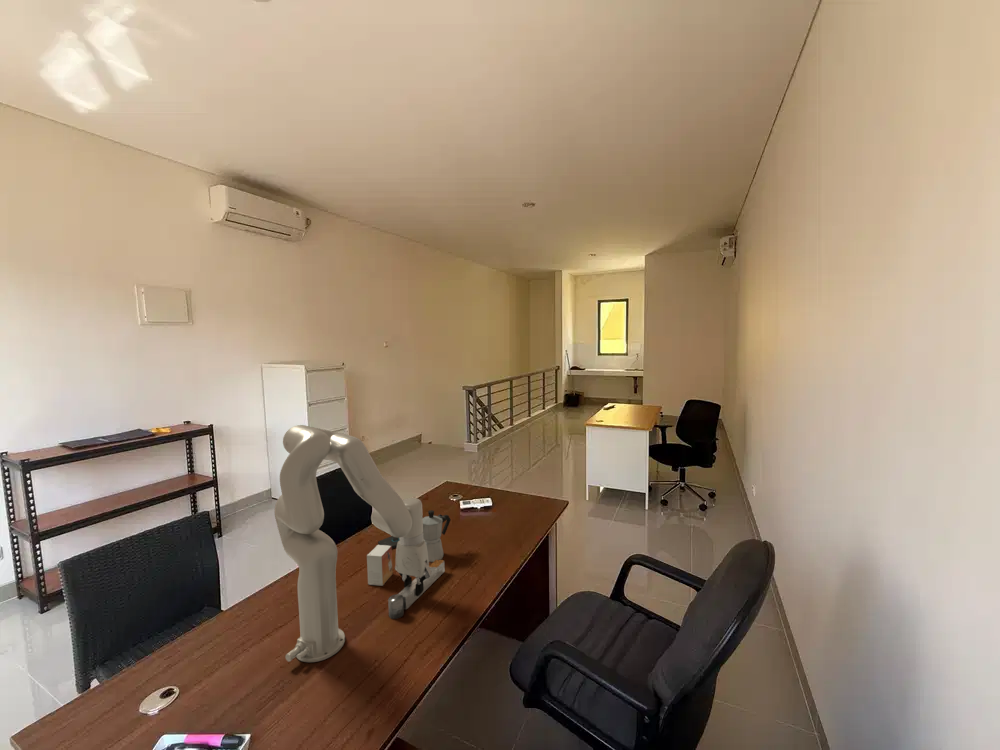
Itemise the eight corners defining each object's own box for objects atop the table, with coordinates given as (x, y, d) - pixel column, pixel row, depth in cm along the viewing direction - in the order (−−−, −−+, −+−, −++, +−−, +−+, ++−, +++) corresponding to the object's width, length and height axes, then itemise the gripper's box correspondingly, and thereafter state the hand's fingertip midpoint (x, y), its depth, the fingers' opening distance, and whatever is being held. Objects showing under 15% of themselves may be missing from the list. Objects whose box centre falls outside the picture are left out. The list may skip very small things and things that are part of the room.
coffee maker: (424, 567, 158) (422, 519, 156) (412, 558, 165) (410, 512, 163) (457, 553, 168) (456, 508, 166) (444, 545, 174) (443, 502, 173)
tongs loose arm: (406, 609, 133) (405, 597, 132) (402, 608, 133) (401, 595, 133) (444, 571, 154) (444, 560, 154) (440, 570, 155) (440, 559, 154)
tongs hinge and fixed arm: (397, 620, 128) (397, 604, 128) (385, 617, 130) (385, 601, 129) (446, 572, 154) (445, 559, 154) (435, 570, 156) (435, 556, 155)
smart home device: (377, 541, 176) (417, 525, 191) (377, 545, 177) (417, 529, 191) (388, 547, 171) (429, 530, 185) (388, 551, 171) (429, 534, 185)
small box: (382, 586, 146) (381, 556, 145) (367, 584, 147) (366, 555, 146) (393, 573, 154) (392, 545, 153) (378, 572, 155) (377, 544, 154)
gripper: (382, 539, 138) (385, 593, 139) (427, 547, 131) (429, 604, 133) (397, 529, 145) (399, 581, 146) (440, 536, 138) (442, 591, 140)
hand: (414, 591), depth 140 cm, fingers open, 3 cm apart
